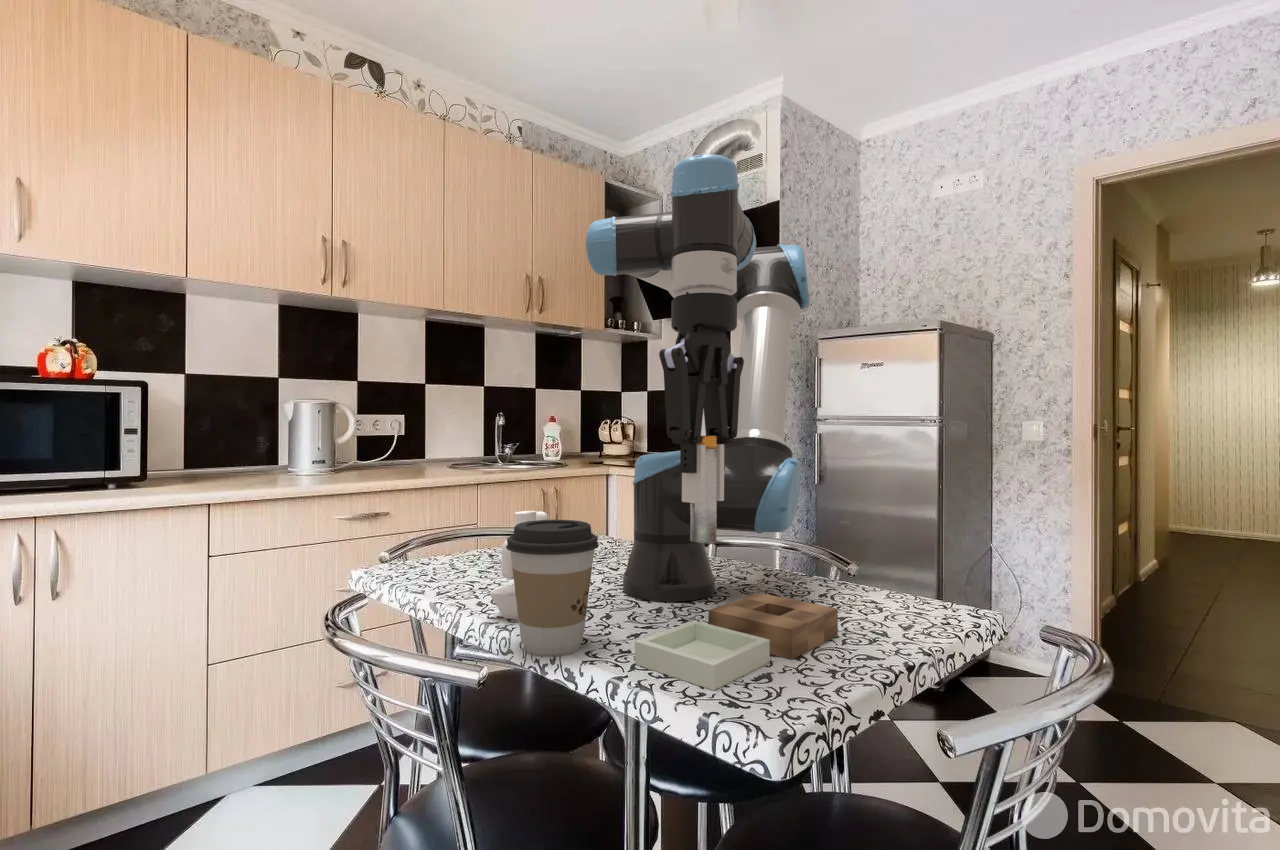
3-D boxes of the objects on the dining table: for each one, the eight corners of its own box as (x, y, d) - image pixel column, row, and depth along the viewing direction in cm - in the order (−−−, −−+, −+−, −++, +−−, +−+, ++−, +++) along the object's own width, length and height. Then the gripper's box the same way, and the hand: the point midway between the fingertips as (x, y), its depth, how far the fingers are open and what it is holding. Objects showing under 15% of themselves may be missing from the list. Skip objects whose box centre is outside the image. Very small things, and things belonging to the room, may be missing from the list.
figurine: (484, 621, 91) (484, 513, 91) (522, 604, 100) (522, 505, 100) (528, 627, 88) (529, 516, 88) (563, 609, 97) (564, 508, 97)
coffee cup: (586, 666, 74) (586, 533, 74) (490, 660, 76) (491, 530, 76) (607, 634, 85) (607, 519, 85) (523, 629, 87) (524, 517, 87)
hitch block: (708, 637, 85) (708, 610, 85) (758, 617, 94) (758, 592, 94) (792, 659, 77) (792, 629, 77) (837, 635, 86) (837, 608, 86)
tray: (635, 664, 75) (635, 641, 75) (693, 640, 83) (693, 620, 83) (713, 690, 68) (713, 665, 68) (769, 662, 76) (769, 639, 76)
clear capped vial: (684, 540, 75) (685, 435, 75) (700, 537, 77) (701, 435, 77) (706, 543, 73) (706, 435, 73) (721, 540, 75) (722, 435, 75)
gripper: (687, 279, 67) (685, 510, 67) (769, 302, 79) (768, 498, 79) (632, 289, 72) (631, 504, 72) (717, 310, 84) (716, 493, 84)
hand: (703, 500), depth 75 cm, fingers closed on clear capped vial, 3 cm apart
